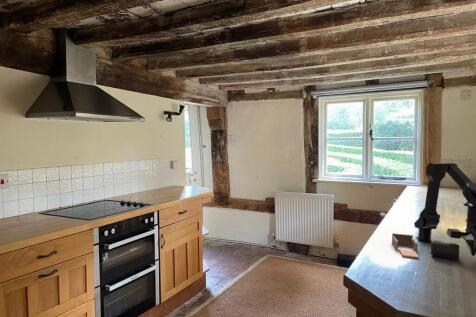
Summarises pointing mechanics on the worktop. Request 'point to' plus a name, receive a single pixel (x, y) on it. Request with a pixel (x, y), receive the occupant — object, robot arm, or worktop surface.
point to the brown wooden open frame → (404, 241)
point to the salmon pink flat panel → (408, 253)
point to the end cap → (445, 250)
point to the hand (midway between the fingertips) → (472, 255)
